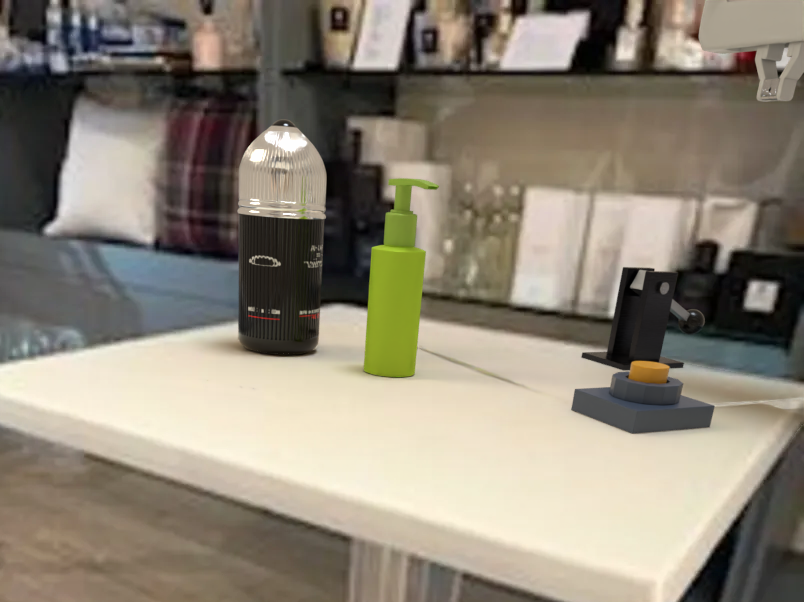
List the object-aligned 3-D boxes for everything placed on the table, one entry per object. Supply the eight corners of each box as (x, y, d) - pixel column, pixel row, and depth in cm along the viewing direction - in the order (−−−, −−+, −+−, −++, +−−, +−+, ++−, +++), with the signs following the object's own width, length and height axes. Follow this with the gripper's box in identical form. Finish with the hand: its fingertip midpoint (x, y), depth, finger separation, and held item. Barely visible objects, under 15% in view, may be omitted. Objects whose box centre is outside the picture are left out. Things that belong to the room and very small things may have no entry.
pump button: (647, 377, 88) (651, 360, 87) (673, 386, 85) (677, 367, 84) (620, 379, 86) (623, 361, 85) (646, 387, 83) (649, 369, 83)
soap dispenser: (399, 381, 96) (416, 179, 87) (353, 369, 100) (364, 175, 91) (432, 375, 100) (451, 181, 91) (385, 364, 104) (400, 177, 95)
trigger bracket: (638, 359, 118) (657, 266, 113) (682, 372, 112) (704, 274, 106) (580, 361, 114) (597, 265, 108) (622, 374, 107) (642, 273, 102)
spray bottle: (331, 347, 111) (343, 125, 100) (301, 360, 102) (310, 118, 92) (257, 338, 114) (261, 120, 103) (222, 349, 105) (221, 113, 94)
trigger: (682, 336, 116) (695, 314, 116) (700, 341, 114) (714, 318, 113) (624, 290, 109) (638, 265, 108) (643, 293, 106) (656, 268, 106)
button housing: (645, 405, 93) (653, 367, 91) (709, 427, 86) (719, 387, 84) (570, 410, 89) (577, 370, 87) (632, 434, 81) (641, 391, 80)
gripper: (949, -91, 72) (892, 100, 78) (751, -50, 89) (717, 106, 95) (901, -106, 70) (846, 93, 76) (706, -61, 86) (674, 100, 92)
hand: (773, 100), depth 85 cm, fingers closed
